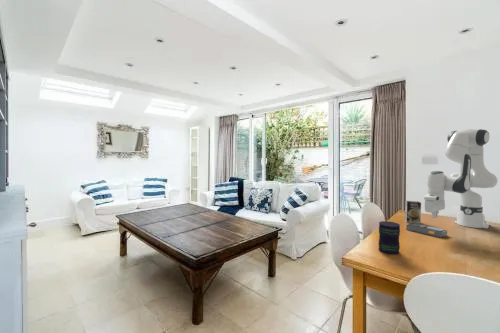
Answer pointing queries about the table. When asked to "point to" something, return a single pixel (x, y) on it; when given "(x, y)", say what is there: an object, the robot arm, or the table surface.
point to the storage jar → (389, 237)
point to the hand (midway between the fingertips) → (434, 217)
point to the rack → (425, 230)
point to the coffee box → (413, 212)
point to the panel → (434, 229)
